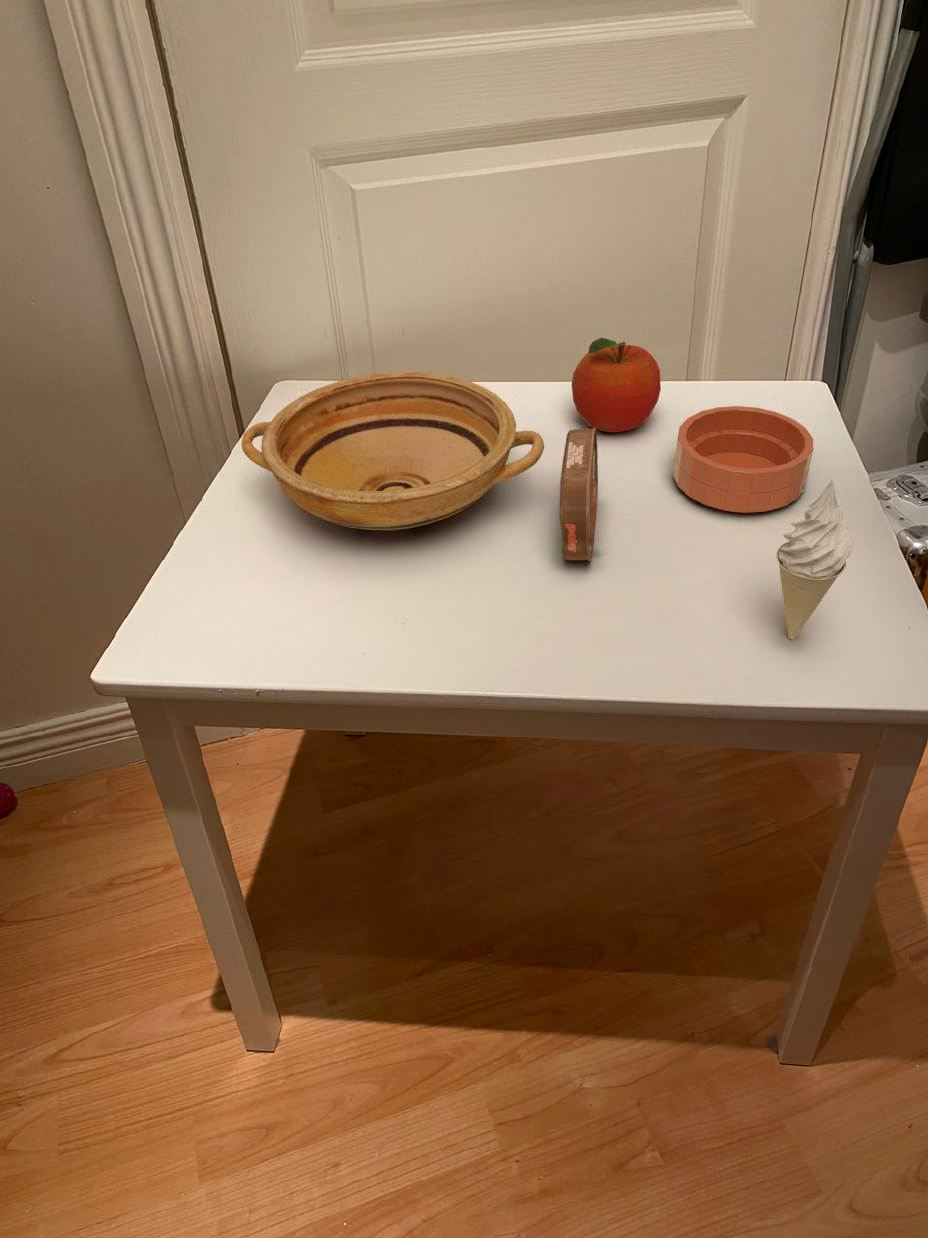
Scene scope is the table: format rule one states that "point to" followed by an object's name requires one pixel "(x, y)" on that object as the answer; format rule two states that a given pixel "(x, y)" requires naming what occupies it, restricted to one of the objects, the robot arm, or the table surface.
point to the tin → (579, 494)
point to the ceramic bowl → (391, 449)
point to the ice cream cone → (812, 559)
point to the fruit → (615, 386)
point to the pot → (742, 458)
